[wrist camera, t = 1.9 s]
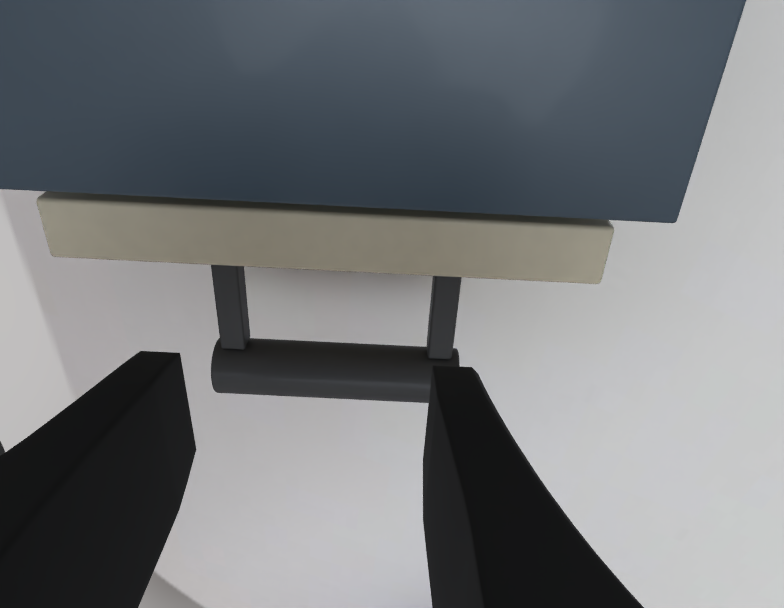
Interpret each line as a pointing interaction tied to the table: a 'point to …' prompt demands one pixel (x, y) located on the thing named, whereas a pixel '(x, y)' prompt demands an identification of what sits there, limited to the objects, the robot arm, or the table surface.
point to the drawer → (333, 253)
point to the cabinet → (366, 101)
